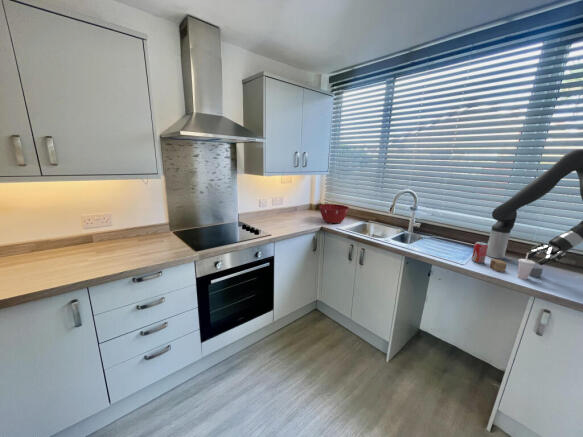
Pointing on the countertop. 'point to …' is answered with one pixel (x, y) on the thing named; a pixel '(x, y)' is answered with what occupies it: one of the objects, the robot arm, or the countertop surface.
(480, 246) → the soda can
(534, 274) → the charcoal block
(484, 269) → the countertop surface
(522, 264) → the smoothie
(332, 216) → the mixing bowl
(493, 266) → the walnut block
